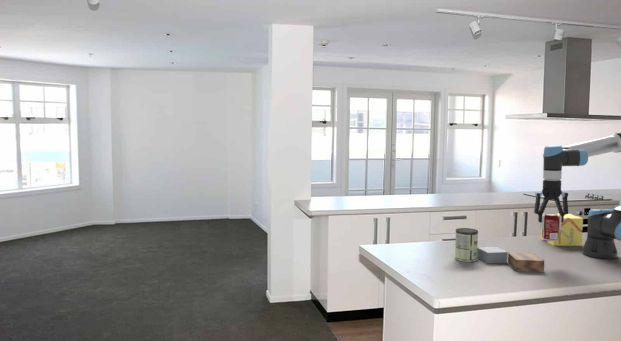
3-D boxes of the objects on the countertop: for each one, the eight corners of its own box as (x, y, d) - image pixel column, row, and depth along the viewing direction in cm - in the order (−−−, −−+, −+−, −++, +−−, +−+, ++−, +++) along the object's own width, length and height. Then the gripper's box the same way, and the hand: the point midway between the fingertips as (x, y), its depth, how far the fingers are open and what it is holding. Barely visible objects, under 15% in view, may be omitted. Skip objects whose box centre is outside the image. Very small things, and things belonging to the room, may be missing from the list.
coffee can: (456, 255, 242) (457, 227, 241) (478, 257, 238) (479, 229, 237) (453, 260, 233) (454, 231, 232) (475, 263, 228) (476, 233, 227)
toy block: (581, 245, 264) (583, 218, 263) (553, 245, 264) (554, 218, 263) (567, 239, 279) (568, 213, 278) (540, 239, 279) (542, 213, 278)
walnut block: (534, 264, 227) (535, 253, 226) (543, 272, 215) (544, 260, 214) (507, 263, 228) (508, 252, 228) (515, 270, 216) (515, 259, 216)
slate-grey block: (496, 256, 239) (496, 246, 239) (507, 262, 230) (507, 252, 229) (476, 257, 238) (477, 247, 238) (487, 263, 228) (487, 252, 228)
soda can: (560, 241, 222) (561, 215, 221) (544, 241, 224) (544, 215, 222) (556, 238, 229) (556, 212, 228) (540, 237, 230) (541, 212, 229)
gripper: (571, 178, 226) (569, 227, 228) (526, 178, 228) (525, 227, 231) (578, 180, 219) (576, 231, 221) (532, 180, 221) (530, 230, 223)
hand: (550, 229), depth 226 cm, fingers closed on soda can, 7 cm apart
